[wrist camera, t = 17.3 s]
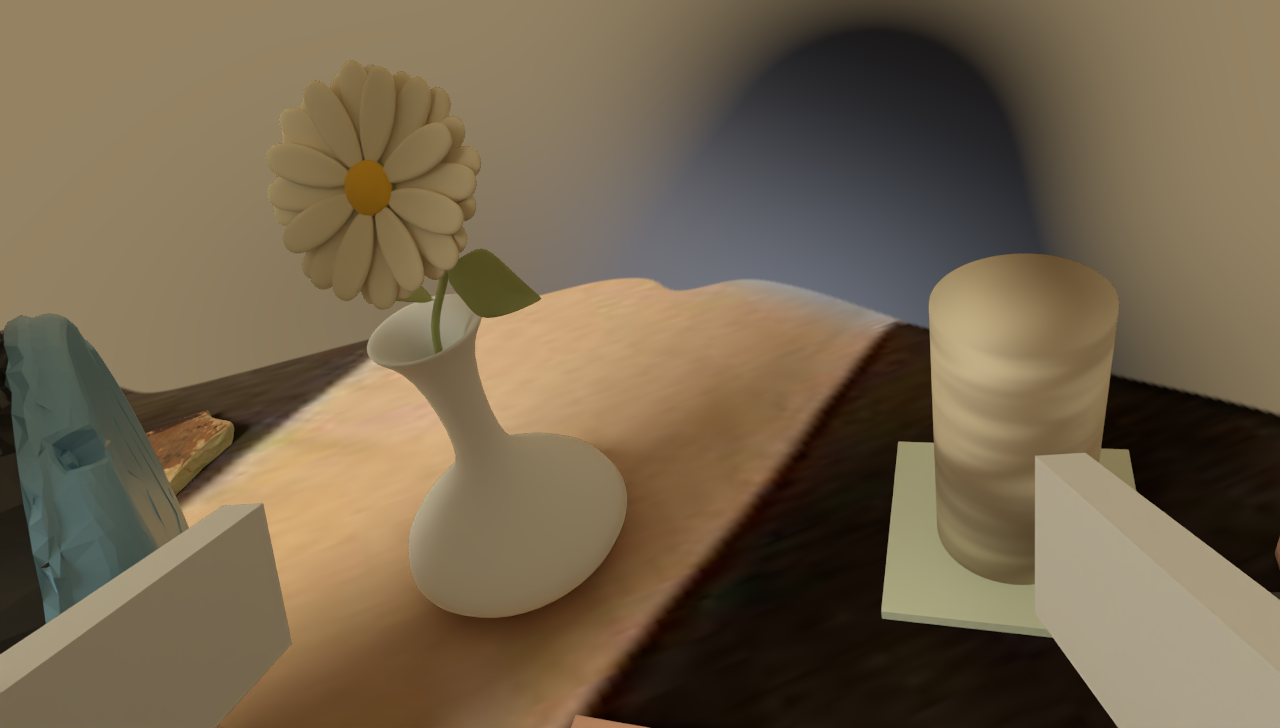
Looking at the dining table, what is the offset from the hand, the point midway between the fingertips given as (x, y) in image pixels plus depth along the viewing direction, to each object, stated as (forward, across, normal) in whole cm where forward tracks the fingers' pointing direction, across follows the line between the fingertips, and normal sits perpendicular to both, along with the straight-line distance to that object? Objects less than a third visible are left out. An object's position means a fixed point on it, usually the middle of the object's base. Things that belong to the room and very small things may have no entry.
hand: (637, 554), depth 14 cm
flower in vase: (+26, -9, -12) cm, 30 cm away
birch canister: (+22, +13, -10) cm, 28 cm away
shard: (+37, -37, -10) cm, 54 cm away
